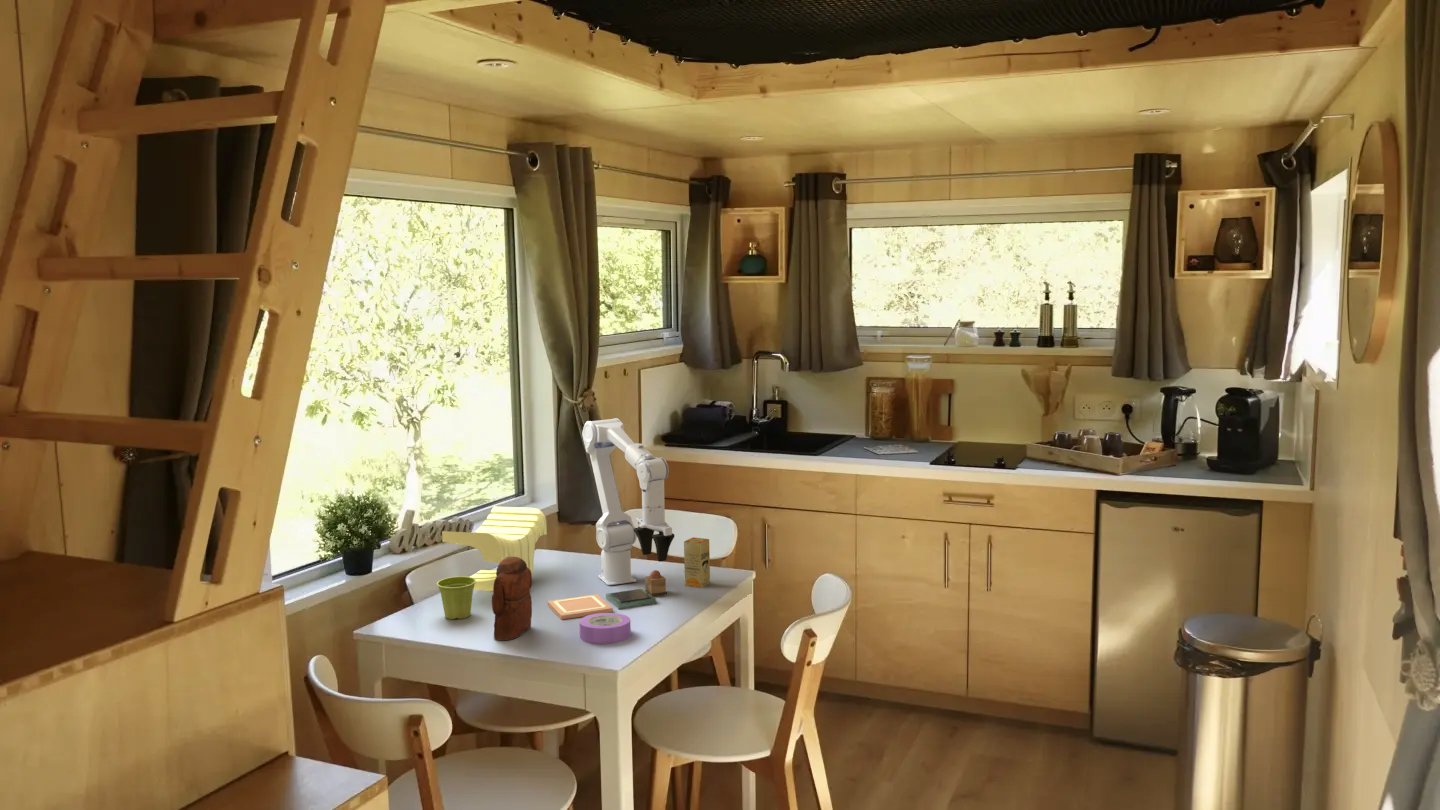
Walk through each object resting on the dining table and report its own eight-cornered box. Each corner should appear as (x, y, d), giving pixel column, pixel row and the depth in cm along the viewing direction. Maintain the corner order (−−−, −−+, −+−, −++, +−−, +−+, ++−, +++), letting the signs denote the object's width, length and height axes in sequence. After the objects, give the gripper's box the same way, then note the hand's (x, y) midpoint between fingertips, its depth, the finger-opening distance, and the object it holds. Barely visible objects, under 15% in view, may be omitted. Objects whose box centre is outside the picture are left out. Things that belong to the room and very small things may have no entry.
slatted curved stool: (502, 601, 273) (499, 533, 271) (445, 598, 277) (442, 531, 275) (548, 570, 302) (545, 508, 300) (496, 567, 306) (493, 506, 304)
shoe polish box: (710, 582, 287) (709, 539, 286) (701, 587, 283) (700, 543, 282) (693, 580, 290) (693, 537, 288) (684, 585, 285) (683, 541, 284)
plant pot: (485, 613, 264) (484, 579, 263) (457, 624, 256) (455, 589, 255) (459, 607, 269) (457, 574, 268) (430, 618, 261) (428, 583, 260)
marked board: (547, 604, 270) (547, 600, 270) (596, 597, 275) (596, 593, 275) (561, 619, 258) (561, 615, 258) (612, 611, 264) (612, 607, 263)
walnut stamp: (644, 592, 279) (644, 569, 279) (661, 590, 281) (660, 567, 281) (650, 597, 275) (650, 573, 275) (667, 595, 277) (666, 571, 276)
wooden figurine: (511, 624, 255) (508, 550, 253) (536, 626, 254) (533, 552, 252) (488, 640, 244) (484, 563, 242) (513, 642, 242) (510, 565, 240)
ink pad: (605, 598, 275) (605, 592, 275) (642, 593, 279) (642, 587, 279) (618, 609, 266) (618, 603, 266) (656, 603, 270) (656, 597, 270)
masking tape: (606, 624, 255) (605, 609, 254) (641, 634, 247) (640, 618, 247) (569, 637, 246) (568, 621, 246) (604, 648, 239) (604, 631, 238)
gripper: (625, 502, 277) (626, 553, 279) (654, 512, 265) (655, 566, 267) (649, 499, 281) (650, 549, 282) (678, 509, 269) (679, 561, 271)
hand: (654, 557), depth 275 cm, fingers open, 7 cm apart
